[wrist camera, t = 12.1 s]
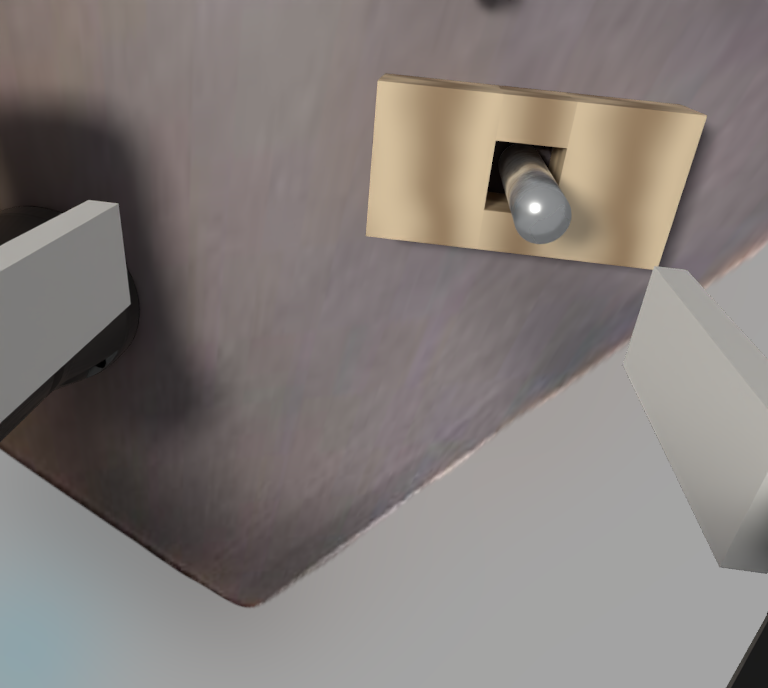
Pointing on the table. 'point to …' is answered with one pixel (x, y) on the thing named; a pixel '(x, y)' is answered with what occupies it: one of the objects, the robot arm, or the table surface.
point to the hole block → (567, 165)
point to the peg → (533, 195)
